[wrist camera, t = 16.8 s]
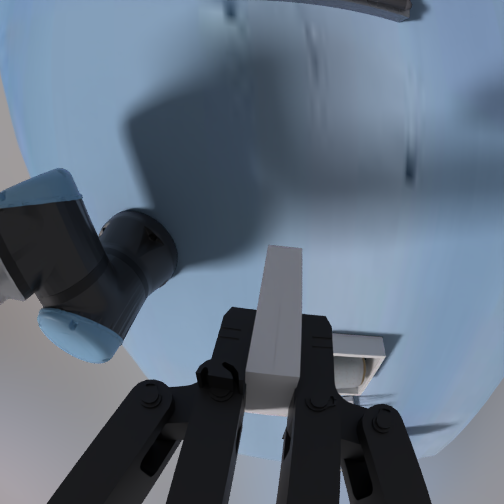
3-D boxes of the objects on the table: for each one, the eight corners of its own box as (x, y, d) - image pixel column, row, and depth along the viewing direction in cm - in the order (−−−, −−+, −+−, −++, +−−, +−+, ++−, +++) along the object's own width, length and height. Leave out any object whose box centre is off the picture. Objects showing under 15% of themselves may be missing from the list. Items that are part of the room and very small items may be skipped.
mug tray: (303, 374, 64) (303, 392, 60) (318, 331, 56) (318, 351, 51) (358, 378, 63) (360, 395, 59) (382, 336, 54) (385, 356, 50)
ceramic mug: (357, 367, 61) (359, 395, 54) (322, 366, 62) (322, 395, 55) (368, 336, 55) (373, 366, 49) (330, 335, 56) (331, 366, 50)
